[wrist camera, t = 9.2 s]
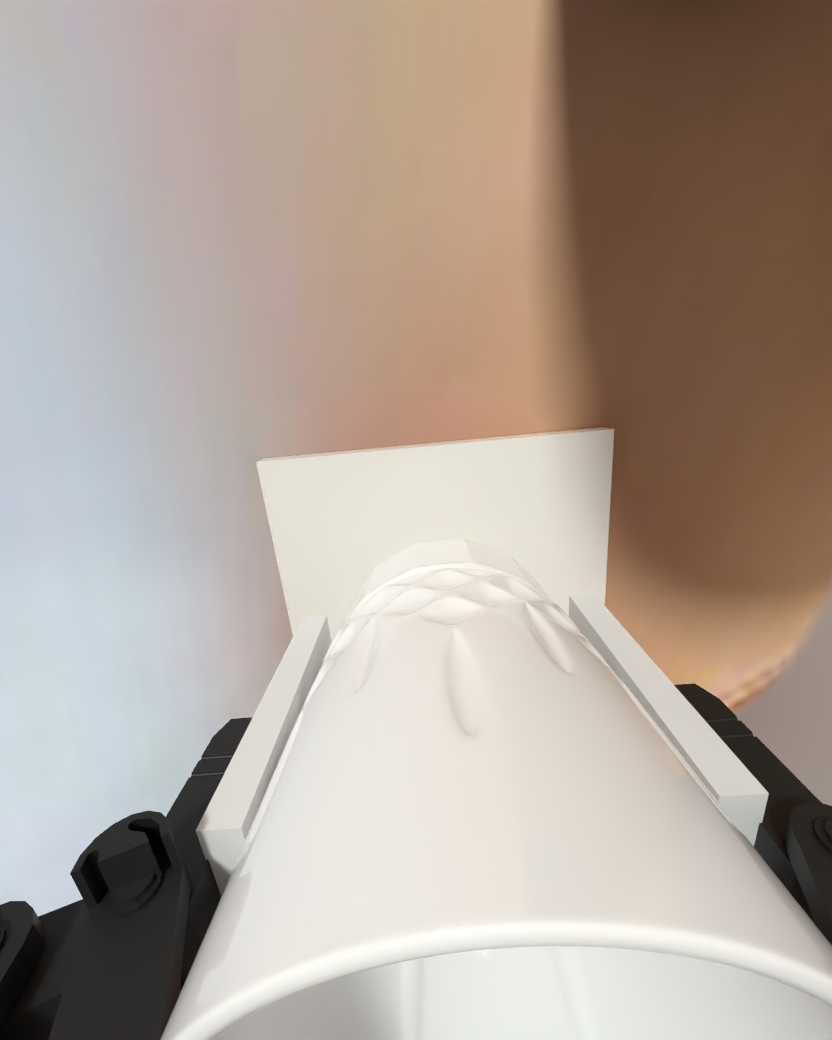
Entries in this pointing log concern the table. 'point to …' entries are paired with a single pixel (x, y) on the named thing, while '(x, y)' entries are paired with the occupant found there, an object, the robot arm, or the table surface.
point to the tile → (440, 512)
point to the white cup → (493, 847)
